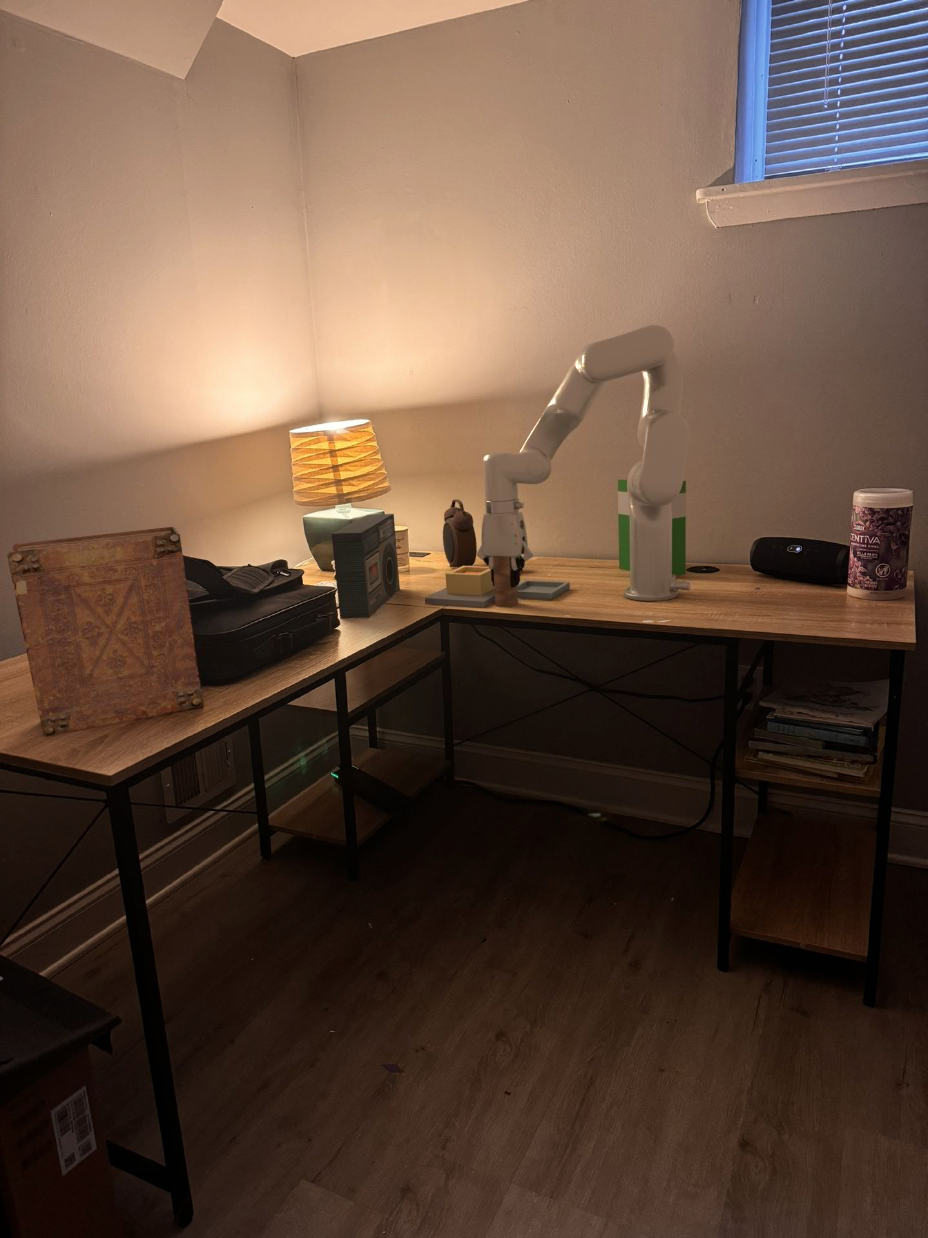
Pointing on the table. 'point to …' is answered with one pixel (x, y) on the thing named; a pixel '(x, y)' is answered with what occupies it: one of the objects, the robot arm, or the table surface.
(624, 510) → the green white tall box
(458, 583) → the yellow socket holder
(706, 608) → the table surface
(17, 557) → the book
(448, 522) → the alarm clock
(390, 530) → the cassette player
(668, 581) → the robot arm
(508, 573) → the rod
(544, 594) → the tray
